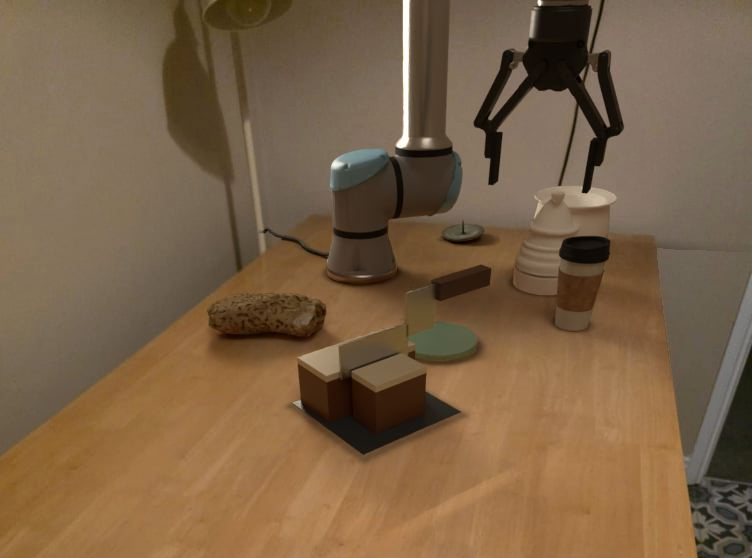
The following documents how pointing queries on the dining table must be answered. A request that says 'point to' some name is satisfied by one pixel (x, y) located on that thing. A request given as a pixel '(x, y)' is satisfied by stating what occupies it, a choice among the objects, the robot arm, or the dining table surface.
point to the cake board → (371, 441)
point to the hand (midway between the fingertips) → (538, 187)
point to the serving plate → (444, 342)
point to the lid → (462, 232)
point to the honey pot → (544, 247)
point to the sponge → (267, 314)
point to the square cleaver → (410, 319)
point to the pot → (583, 207)
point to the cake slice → (388, 392)
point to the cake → (328, 382)
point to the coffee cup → (579, 279)
